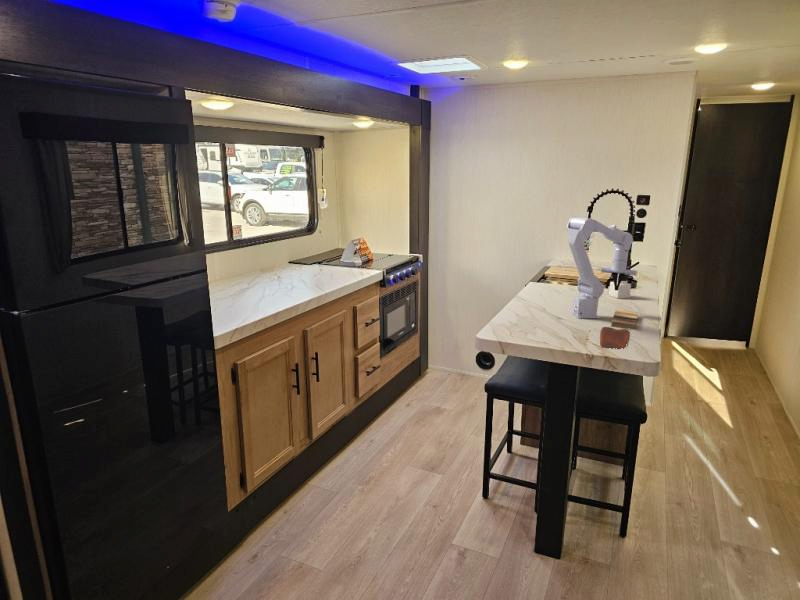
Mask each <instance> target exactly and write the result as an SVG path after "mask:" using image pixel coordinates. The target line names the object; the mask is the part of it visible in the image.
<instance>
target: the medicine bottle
mask: <svg viewBox="0 0 800 600" xmlns="http://www.w3.org/2000/svg"><path fill="white" fill-rule="evenodd" d="M618 275H619V274H618ZM628 280H629V275H626V274H625V276H624V278H623V280H622V281H621V283H620V285H619V289H618V290H615V286H614V281H610V283H609V289H608V290H609V291H608V296H609V297H612V298H615V299H630V296H631V289H632V284H631V283H628ZM617 284H618V279H617Z"/></svg>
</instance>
